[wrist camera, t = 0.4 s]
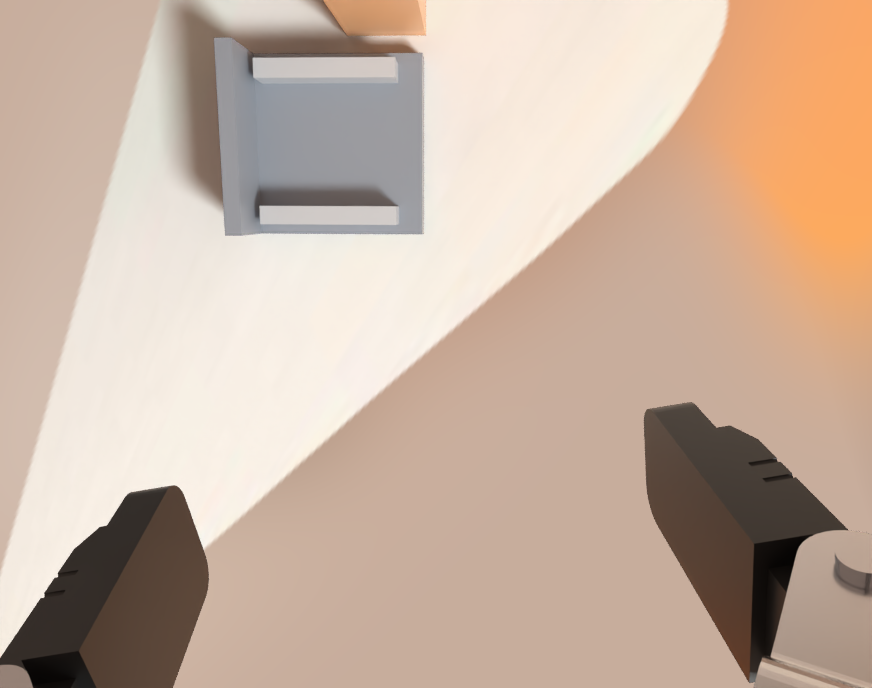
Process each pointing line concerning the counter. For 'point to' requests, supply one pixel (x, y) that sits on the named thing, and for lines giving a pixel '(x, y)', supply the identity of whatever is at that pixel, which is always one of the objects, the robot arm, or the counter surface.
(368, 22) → the block
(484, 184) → the counter surface
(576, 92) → the counter surface
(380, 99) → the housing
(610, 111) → the counter surface
